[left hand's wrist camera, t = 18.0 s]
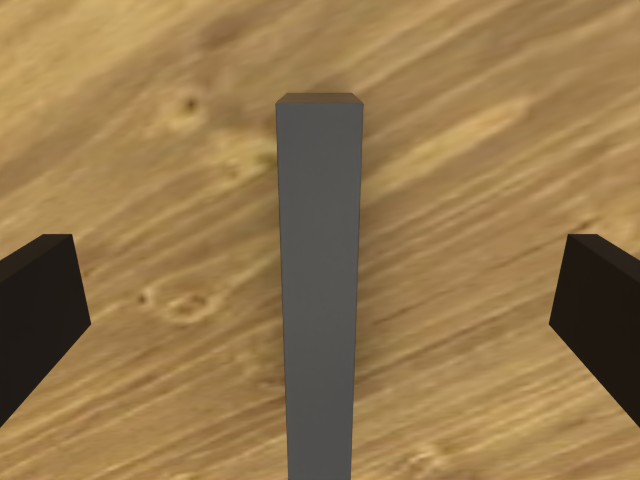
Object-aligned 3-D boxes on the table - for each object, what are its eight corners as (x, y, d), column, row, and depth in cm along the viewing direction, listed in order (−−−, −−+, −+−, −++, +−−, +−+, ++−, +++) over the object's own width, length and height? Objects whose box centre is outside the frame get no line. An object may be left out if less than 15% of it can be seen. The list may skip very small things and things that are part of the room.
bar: (286, 93, 31) (275, 102, 23) (352, 93, 31) (363, 102, 23) (294, 404, 41) (288, 484, 33) (344, 404, 41) (350, 484, 33)
